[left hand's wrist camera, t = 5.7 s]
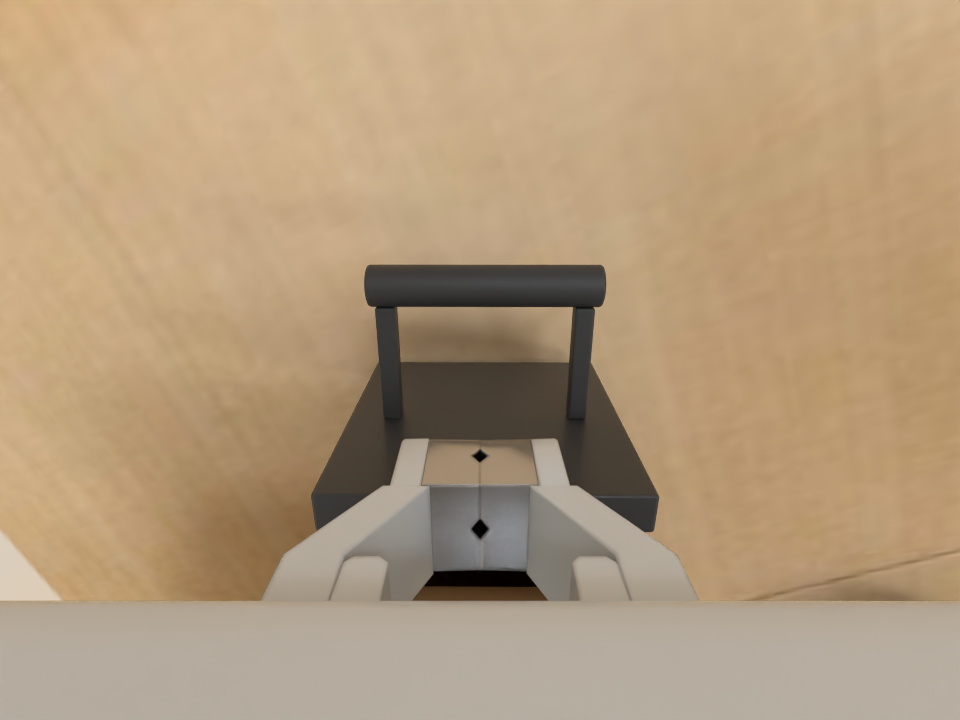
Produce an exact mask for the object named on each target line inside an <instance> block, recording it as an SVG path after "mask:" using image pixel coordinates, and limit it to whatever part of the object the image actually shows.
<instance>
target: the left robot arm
mask: <svg viewBox="0 0 960 720" xmlns="http://www.w3.org/2000/svg"><path fill="white" fill-rule="evenodd" d="M463 570H496V571H527V574H528V576H529V577H530V578H531V579H532V581H533V582H534V583H535V584H536V586H537V587H538V588H539V589H540V591H541V592H542V593H543V594H544V596H545V597H546V598H547V599H548V601H412V600H413V599H414V597H415V596H416V595H417V594H418V592H419V591H420V590H421V589H422V587H423V586H424V585H425V584H426V582H427V581H428V580H429V579H430V577H431V576H432V575H433V571H463ZM0 720H960V601H699V598H698V596H697V594H696V592H695V590H694V588H693V586H692V584H691V582H690V580H689V578H688V576H687V574H686V572H685V570H684V568H683V566H682V564H681V562H680V560H679V558H678V556H677V554H675V553H674V552H672V551H671V550H669V549H668V548H667V547H665V546H664V545H662V544H661V543H659V542H658V541H656V540H655V539H654V538H652V537H651V536H649V535H648V534H646V533H645V532H643V531H642V530H641V529H639V528H638V527H636V526H635V525H633V524H632V523H630V522H629V521H628V520H626V519H625V518H623V517H622V516H620V515H619V514H617V513H616V512H615V511H613V510H612V509H610V508H609V507H607V506H606V505H604V504H603V503H602V502H600V501H599V500H597V499H596V498H594V497H593V496H591V495H590V494H589V493H587V492H586V491H584V490H583V489H581V488H580V487H578V486H570V484H569V480H568V477H567V473H566V469H565V466H564V462H563V459H562V455H561V451H560V448H559V444H558V441H557V440H556V439H555V438H550V439H513V440H461V439H430V440H429V439H428V438H426V439H404V440H403V441H402V443H401V447H400V451H399V454H398V458H397V462H396V465H395V469H394V473H393V476H392V480H391V484H390V486H382V487H380V488H379V489H377V490H376V491H374V492H373V493H371V494H370V495H368V496H367V497H366V498H364V499H363V500H361V501H360V502H358V503H357V504H355V505H354V506H353V507H351V508H350V509H348V510H347V511H345V512H344V513H342V514H341V515H339V516H338V517H337V518H335V519H334V520H332V521H331V522H329V523H328V524H326V525H325V526H324V527H322V528H321V529H319V530H318V531H316V532H315V533H313V534H312V535H310V536H309V537H308V538H306V539H305V540H303V541H302V542H300V543H299V544H297V545H296V546H295V547H293V548H292V549H290V550H289V551H287V552H286V553H284V554H283V556H282V558H281V560H280V562H279V564H278V566H277V568H276V570H275V572H274V574H273V576H272V578H271V580H270V582H269V584H268V586H267V588H266V590H265V592H264V594H263V596H262V598H261V600H260V601H0Z"/></svg>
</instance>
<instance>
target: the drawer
mask: <svg viewBox="0 0 960 720" xmlns="http://www.w3.org/2000/svg"><path fill="white" fill-rule="evenodd" d="M364 288H365V297H366V301H367V303H368V305H369V306H371V307H376V309H375V315H376V328H377V340H378V353H379V363H378V364H377V366H376V368H375V370H374V372H373V374H372V376H371V378H370V380H369V382H368V384H367V386H366V388H365V390H364V392H363V394H362V396H361V398H360V400H359V402H358V404H357V406H356V408H355V410H354V412H353V414H352V416H351V418H350V419H349V421H348V423H347V425H346V427H345V429H344V431H343V433H342V435H341V437H340V439H339V441H338V443H337V445H336V447H335V449H334V451H333V453H332V455H331V457H330V459H329V461H328V463H327V465H326V467H325V469H324V471H323V473H322V475H321V477H320V479H319V481H318V483H317V484H316V486H315V488H314V490H313V492H312V495H311V498H312V505H313V512H314V519H315V525H316V529H317V530H319V529H321V528H322V527H324V526H325V525H326V524H328V523H329V522H331V521H332V520H334V519H335V518H337V517H338V516H339V515H341V514H342V513H344V512H345V511H347V510H348V509H350V508H351V507H353V506H354V505H355V504H357V503H358V502H360V501H361V500H363V499H364V498H366V497H367V496H368V495H370V494H371V493H373V492H374V491H376V490H377V489H379V488H380V487H382V486H390V484H391V480H392V476H393V473H394V469H395V465H396V462H397V458H398V454H399V451H400V447H401V443H402V441H403V440H404V439H426V438H428V439H429V440H430V439H461V440H513V439H550V438H555V439H556V440H557V441H558V444H559V448H560V451H561V455H562V459H563V462H564V466H565V469H566V473H567V477H568V480H569V484H570V486H578V487H580V488H581V489H583V490H584V491H586V492H587V493H589V494H590V495H591V496H593V497H594V498H596V499H597V500H599V501H600V502H602V503H603V504H604V505H606V506H607V507H609V508H610V509H612V510H613V511H615V512H616V513H617V514H619V515H620V516H622V517H623V518H625V519H626V520H628V521H629V522H630V523H632V524H633V525H635V526H636V527H638V528H639V529H641V530H642V531H643V532H653V531H654V527H655V520H656V514H657V507H658V501H659V495H658V493H657V491H656V489H655V488H654V486H653V484H652V482H651V480H650V478H649V476H648V474H647V472H646V470H645V468H644V466H643V464H642V462H641V460H640V458H639V456H638V454H637V452H636V450H635V448H634V446H633V444H632V442H631V440H630V438H629V437H628V435H627V433H626V431H625V429H624V427H623V425H622V423H621V421H620V419H619V417H618V415H617V413H616V411H615V409H614V407H613V405H612V403H611V401H610V399H609V397H608V395H607V393H606V391H605V389H604V387H603V385H602V384H601V382H600V380H599V378H598V376H597V374H596V372H595V370H594V368H593V366H592V364H591V363H590V362H591V350H592V339H593V327H594V315H595V309H594V308H593V307H600V306H602V304H603V302H604V299H605V293H606V274H605V270H604V267H603V266H601V265H369V266H367V268H366V271H365V279H364ZM397 307H573V316H572V330H571V345H570V360H569V363H433V362H400V346H399V330H398V314H397ZM424 586H470V587H537V586H536V584H535V583H534V582H533V581H532V579H531V578H530V577H529V576H528V574H527V571H496V570H463V571H433V575H432V576H431V577H430V579H429V580H428V581H427V582H426V584H425V585H424Z"/></svg>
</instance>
